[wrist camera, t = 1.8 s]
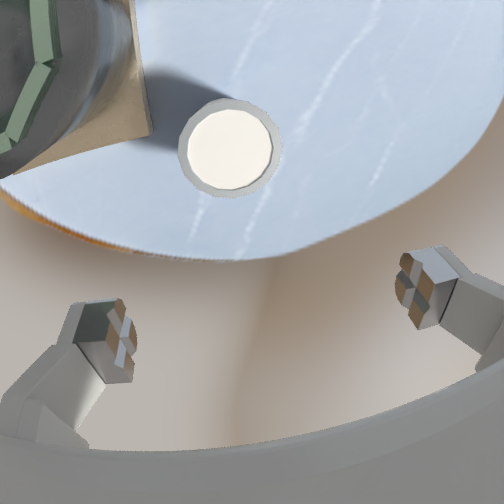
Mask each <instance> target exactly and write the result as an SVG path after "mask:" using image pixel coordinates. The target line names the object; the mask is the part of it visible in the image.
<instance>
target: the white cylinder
mask: <svg viewBox="0 0 504 504" xmlns="http://www.w3.org/2000/svg"><path fill="white" fill-rule="evenodd" d="M281 153H282V142H281V138H280V133H279V129H278V127H277V126H276V124H275V123H274V122H273V120H272V119H271V118H270V116H269V115H268V114H267V112H265V111H263V110H262V109H260V108H258V107H256V106H255V105H253V104H251V103H249V102H246V101H241V100H236V99H228V98H220V99H217V100H213V101H210V102H208V103H207V104H206V105H204V106H203V107H202V108H200V109H199V110H198V111H197V112H196V113H195V114H194V115H193V116H192V117H191V118H189V120H188V122H187V124H186V125H185V127H184V129H183V131H182V133H181V135H180V136H179V145H178V159H179V162H180V165H181V168H182V171H183V173H184V175H185V176H186V178H187V179H188V180H189V181H190V182H191V183H192V184H193V185H194V186H195V187H196V188H197V189H199V190H201V191H203V192H205V193H207V194H209V195H211V196H214V197H223V198H237V197H240V196H244V195H247V194H251V193H253V192H255V191H256V190H257V189H259V188H260V187H262V186H263V185H264V184H266V183H267V182H268V181H269V180H270V178H271V177H272V175H273V174H274V172H275V171H276V169H277V168H278V166H279V163H280V158H281Z"/></svg>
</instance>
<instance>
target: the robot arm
mask: <svg viewBox="0 0 504 504" xmlns="http://www.w3.org/2000/svg"><path fill="white" fill-rule="evenodd" d="M399 265H400V267H401V268H402V270H401V271H400V272H399V273H398V275H397V276H396V280H395V292H396V295H397V298H398V300H399V302H400V303H401V305H403V306H405V307H406V308H408V309H409V313H408V316H409V317H410V319H411V320H412V322H413V323H414V325H415V327H416V328H417V330H421V329H424V328H428V327H431V326H434V325H437V324H440V326H441V327H443V328H444V329H446V330H447V331H448V332H450V333H451V334H453V335H454V336H456V337H457V338H458V339H460V340H461V341H463V342H464V343H465V344H467V345H468V346H470V347H471V348H472V349H474V350H475V351H477V352H478V353H480V354H481V355H482V356H481V358H480V359H479V361H478V363H477V364H476V366H475V370H476V372H477V373H475V374H473V375H471V376H469V377H467V378H465V379H463V380H461V381H459V382H456V383H455V384H452V385H450V386H448V387H446V388H443V389H441V390H439V391H437V392H434V393H432V394H430V395H427V396H425V397H422V398H420V399H417V400H415V401H412V402H410V403H407V404H404V405H402V406H399V407H396V408H394V409H391V410H388V411H385V412H382V413H379V414H376V415H373V416H370V417H367V418H364V419H360V420H357V421H353V422H350V423H347V424H343V425H340V426H336V427H332V428H328V429H324V430H320V431H316V432H311V433H307V434H302V435H298V436H294V437H288V438H283V439H278V440H272V441H266V442H260V443H253V444H246V445H239V446H230V447H221V448H211V449H199V450H183V451H150V452H149V451H144V452H142V451H111V450H96V449H89V444H88V442H87V441H86V440H85V439H83V438H82V437H81V436H80V435H79V434H77V433H76V430H77V429H78V427H79V425H80V424H81V422H82V421H83V419H84V418H85V416H86V415H87V413H88V412H89V410H90V409H91V407H92V406H93V404H94V403H95V401H96V400H97V399H98V397H99V396H100V394H101V393H102V391H103V390H104V388H105V387H106V384H115V383H129V382H132V380H133V372H134V364H135V363H134V361H133V360H132V358H131V356H132V355H133V354H134V353H135V352H136V349H137V334H136V330H135V327H134V324H133V322H132V320H131V319H130V318H128V317H127V316H125V311H126V307H125V305H124V303H123V301H122V300H121V299H119V298H115V299H105V300H95V301H88V302H77V303H73V304H72V305H71V306H70V309H69V311H68V314H67V316H66V319H65V321H64V324H63V327H62V330H61V332H60V335H59V338H58V341H57V344H56V345H51V347H49V348H48V349H47V350H46V351H45V352H44V353H43V354H42V355H41V356H40V357H39V358H38V359H37V360H36V361H35V362H34V363H33V364H32V365H31V366H30V367H29V369H28V370H26V371H25V373H23V374H22V375H21V377H20V378H19V379H18V380H17V381H16V382H15V383H14V384H13V385H12V386H11V387H10V388H9V389H8V390H7V391H6V392H5V393H4V394H3V397H2V400H1V403H0V504H504V286H503V285H501V284H498V283H496V282H494V281H492V280H490V279H488V278H486V277H483V276H481V275H479V274H477V273H475V274H473V273H472V272H471V271H470V270H469V269H468V268H467V267H466V266H465V265H464V264H463V263H462V262H461V261H460V260H459V259H458V258H457V257H456V256H455V255H454V253H452V251H451V250H449V248H448V247H446V246H444V245H437V246H433V247H429V248H425V249H420V250H416V251H410V252H405V253H403V255H402V256H401V259H400V263H399Z"/></svg>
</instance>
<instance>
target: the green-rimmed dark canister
mask: <svg viewBox="0 0 504 504" xmlns="http://www.w3.org/2000/svg"><path fill="white" fill-rule="evenodd" d="M152 131H153V127H152V121H151V116H150V110H149V104H148V98H147V92H146V86H145V80H144V73H143V67H142V60H141V53H140V45H139V37H138V29H137V21H136V12H135V2H134V0H0V179H2V178H5V177H7V176H9V175H11V174H13V175H16V174H18V173H21V172H24V171H26V170H29V169H32V168H35V167H38V166H41V165H44V164H47V163H50V162H53V161H56V160H59V159H62V158H65V157H68V156H72V155H75V154H78V153H82V152H85V151H89V150H93V149H96V148H100V147H104V146H108V145H111V144H115V143H119V142H124V141H128V140H132V139H137V138H141V137H146V136H150V134H151V133H152Z"/></svg>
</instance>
